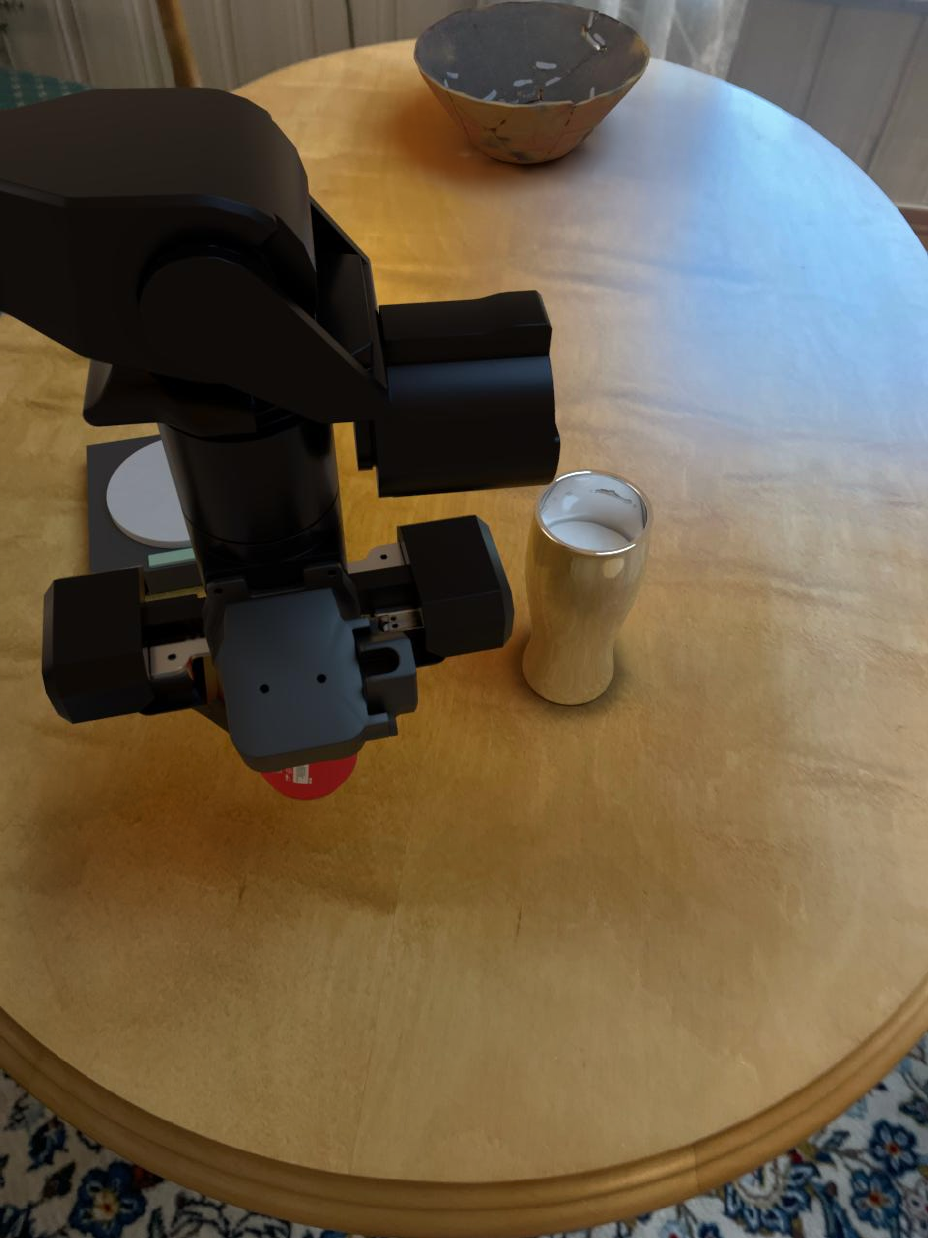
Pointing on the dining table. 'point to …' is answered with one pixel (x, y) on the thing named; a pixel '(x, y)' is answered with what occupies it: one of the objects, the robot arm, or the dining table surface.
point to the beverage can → (312, 778)
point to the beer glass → (582, 580)
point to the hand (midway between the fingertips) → (303, 718)
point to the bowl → (529, 74)
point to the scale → (138, 514)
